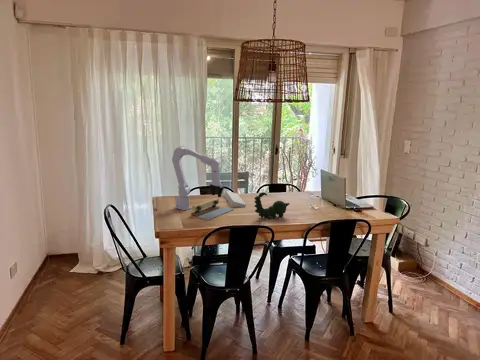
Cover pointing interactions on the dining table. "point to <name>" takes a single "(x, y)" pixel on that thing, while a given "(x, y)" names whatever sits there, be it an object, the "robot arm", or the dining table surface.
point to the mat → (215, 213)
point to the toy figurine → (270, 208)
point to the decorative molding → (234, 199)
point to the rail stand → (205, 209)
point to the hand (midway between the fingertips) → (216, 196)
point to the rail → (204, 204)
